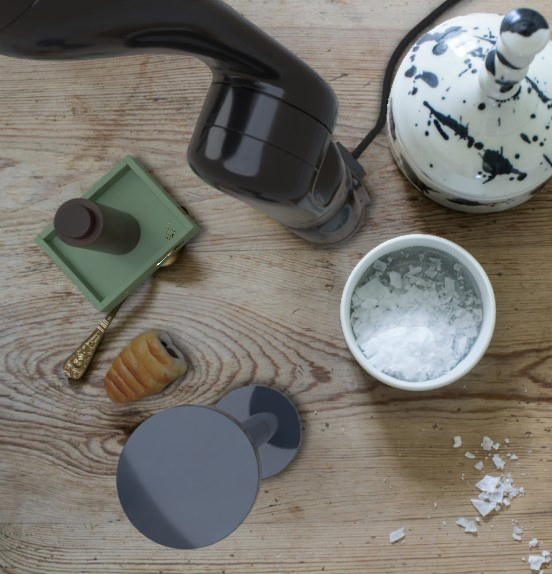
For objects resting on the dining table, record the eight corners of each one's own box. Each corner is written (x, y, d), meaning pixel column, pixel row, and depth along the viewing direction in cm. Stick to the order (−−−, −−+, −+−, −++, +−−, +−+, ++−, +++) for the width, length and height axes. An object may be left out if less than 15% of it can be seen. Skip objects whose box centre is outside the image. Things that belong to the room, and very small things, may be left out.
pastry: (132, 416, 72) (115, 421, 69) (97, 371, 73) (79, 374, 69) (195, 366, 73) (182, 368, 69) (160, 322, 73) (145, 322, 69)
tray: (136, 159, 74) (127, 154, 72) (201, 229, 74) (194, 226, 71) (45, 241, 73) (32, 239, 71) (109, 312, 73) (99, 312, 71)
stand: (259, 359, 73) (192, 375, 52) (327, 433, 73) (288, 480, 52) (184, 428, 72) (85, 473, 51) (252, 503, 72) (181, 580, 51)
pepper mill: (147, 219, 73) (105, 205, 63) (131, 261, 73) (87, 252, 63) (105, 205, 73) (58, 189, 63) (90, 246, 73) (40, 236, 63)
